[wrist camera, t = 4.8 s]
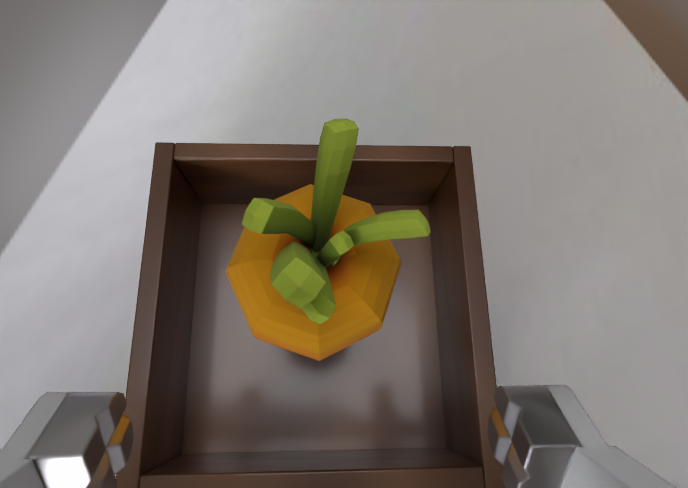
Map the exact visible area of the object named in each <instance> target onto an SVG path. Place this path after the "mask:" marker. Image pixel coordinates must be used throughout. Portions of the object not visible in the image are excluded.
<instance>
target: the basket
mask: <svg viewBox="0 0 688 488" xmlns="http://www.w3.org/2000/svg"><path fill="white" fill-rule="evenodd" d="M318 149H319V145H291V144H212V143H176V144H174V143H156V144H155V153H154V161H153V170H152V178H151V187H150V195H149V204H148V212H147V221H146V229H145V237H144V246H143V254H142V263H141V271H140V280H139V288H138V297H137V305H136V314H135V322H134V331H133V339H132V348H131V356H130V365H129V373H128V381H127V390H126V398H125V400H126V403H127V406H126V408H125V410H124V414H125V415H126V416H127V417H128V418H130V419H131V421H132V425H133V437H134V439H133V444H132V449H131V454H130V456H129V459H128V461H127V464H126V466H125V467H124V468H122V469H121V470H120V471H119V472H118V473H117V475H116V483H117V488H506V487H505V485H504V482H503V479H502V477H501V475H502V471H503V468H504V465H502V464H501V463H500V462H499V461H498V460H497V459H495V458H494V456H493V453H492V450H491V448H490V444H489V439H488V427H487V424H488V419H489V414H490V413H491V412H492V411H493V410H494V409H495V408H496V404H495V402H494V400H493V398H494V394H495V391H496V389H497V388H496V378H495V369H494V360H493V350H492V341H491V332H490V323H489V313H488V304H487V295H486V285H485V276H484V267H483V258H482V248H481V239H480V230H479V221H478V211H477V202H476V193H475V183H474V174H473V165H472V156H471V147H470V146H453V148H452V147H449V146H370V145H356V148H355V152H354V156H353V160H352V164H351V168H350V171H349V174H348V178H347V181H346V184H345V188H344V191H343V194H342V195H345V196H348V197H351V198H354V199H357V200H360V201H363V202H366V203H369V204H370V205H371V206H372V208H373V210H374V212H375V214H376V215H377V214H380V213H384V212H391V211H399V210H419V211H420V212H421V213H422V214H423V215H424V216H425V217H426V219H427V221H428V224H429V226H430V230H431V232H430V234H429V235H428V236H425V237H416V238H404V239H390V241H391V243H392V245H393V247H394V248H395V250H396V252H397V254H398V256H399V258H400V260H401V262H402V263H401V266H400V270H399V273H398V276H397V279H396V283H395V286H394V289H393V293H392V296H391V299H390V302H389V306H388V309H387V312H386V315H385V319H384V322H383V325H382V328H381V329H380V330H378V331H377V332H375V333H374V334H372V335H370V336H368V337H366V338H364V339H362V340H360V341H358V342H356V343H354V344H352V345H350V346H348V347H346V348H344V349H342V350H340V351H338V352H336V353H334V354H332V355H330V356H329V357H327V358H325V359H323V360H321V361H318V360H315V359H312V358H309V357H306V356H303V355H300V354H297V353H295V352H292V351H289V350H286V349H283V348H280V347H277V346H274V345H272V344H269V343H266V342H263V341H261V340H259V339H257V338H255V337H253V334H252V332H251V330H250V327H249V325H248V323H247V321H246V318H245V316H244V314H243V311H242V309H241V307H240V305H239V302H238V300H237V298H236V295H235V293H234V291H233V289H232V286H231V284H230V282H229V279H228V277H227V275H226V269H227V267H228V264H229V262H230V260H231V257H232V255H233V253H234V250H235V248H236V246H237V243H238V241H239V239H240V236H241V234H242V232H243V229H244V227H245V226H243V225H242V221H243V218H244V214H245V210H246V209H247V207H248V206H249V204H250V203H251V201H252V200H253V198H265V199H271V200H275V199H277V198H279V197H282V196H284V195H286V194H288V193H291V192H293V191H295V190H298V189H300V188H302V187H305V186H307V185H309V184H312V185H314V182H315V172H316V163H317V155H318Z"/></svg>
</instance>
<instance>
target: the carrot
mask: <svg viewBox="0 0 688 488" xmlns="http://www.w3.org/2000/svg"><path fill="white" fill-rule="evenodd" d="M358 129H359V128H358V127H357V125H356V124H355V122H353V121H351V120H349V119H334V120H332V121H329V122H326V123H324V127H323V130H322V134H321V137H320V143H319V149H318V155H317V163H316V172H315V182H314V185H312V184H309V185H307V186H305V187H302V188H300V189H298V190H295V191H293V192H291V193H288V194H286V195H284V196H282V197H279V198H277V199H275V200H271V199H265V198H253V200H252V201H251V203H250V204H249V206H248V207H247V209H246V210H245V214H244V218H243V221H242V225H243V226H245V227H244V229H243V232H242V234H241V236H240V239H239V241H238V243H237V246H236V248H235V250H234V253H233V255H232V257H231V260H230V262H229V264H228V267H227V269H226V275H227V277H228V279H229V282H230V284H231V286H232V289H233V291H234V293H235V295H236V298H237V300H238V302H239V305H240V307H241V309H242V311H243V314H244V316H245V318H246V321H247V323H248V325H249V327H250V330H251V332H252V334H253V337H255V338H257V339H259V340H261V341H263V342H266V343H269V344H272V345H274V346H277V347H280V348H283V349H286V350H289V351H292V352H295V353H297V354H300V355H303V356H306V357H309V358H312V359H315V360H318V361H321V360H323V359H325V358H327V357H329V356H330V355H332V354H334V353H336V352H338V351H340V350H342V349H344V348H346V347H348V346H350V345H352V344H354V343H356V342H358V341H360V340H362V339H364V338H366V337H368V336H370V335H372V334H374V333H375V332H377V331H378V330H380V329H381V328H382V325H383V322H384V319H385V315H386V312H387V309H388V306H389V302H390V299H391V296H392V293H393V289H394V286H395V283H396V279H397V276H398V273H399V270H400V266H401V263H402V262H401V260H400V258H399V256H398V254H397V252H396V250H395V248H394V247H393V245H392V243H391V241H390V239H404V238H416V237H425V236H428V235H429V234H430V232H431V230H430V226H429V224H428V221H427V219H426V217H425V216H424V215H423V214H422V213H421V212H420V211H419V210H399V211H391V212H384V213H380V214H377V215H376V214H375V212H374V210H373V208H372V206H371V205H370V204H369V203H366V202H363V201H360V200H357V199H354V198H351V197H348V196H345V195H342V194H343V191H344V188H345V184H346V181H347V178H348V174H349V171H350V168H351V164H352V160H353V156H354V152H355V148H356V143H357V136H358Z"/></svg>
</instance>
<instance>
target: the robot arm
mask: <svg viewBox="0 0 688 488" xmlns="http://www.w3.org/2000/svg"><path fill="white" fill-rule="evenodd" d="M493 400H494V402H495V404H496V408H495V409H494V410H493V411H492V412H491V413H490V414H489V419H488V424H487V427H488V439H489V444H490V448H491V450H492V453H493V456H494V458H495V459H497V460H498V461H499V462H500V463H501V464H502V465H504V468H503V471H502V475H501V477H502V479H503V482H504V485H505V487H506V488H676V487H674V486H673V485H671V484H670V483H669V482H667V481H666V480H664V479H663V478H661V477H660V476H658V475H657V474H655V473H654V472H652V471H651V470H649V469H648V468H647V467H645V466H644V465H642V464H641V463H639V462H638V461H636V460H635V459H633V458H632V457H630V456H629V455H628V454H626V453H625V452H623V451H622V450H620V449H619V448H617V447H616V446H608V445H607V443H606V442H605V440H604V438H603V437H602V435H601V434H600V432H599V431H598V429H597V428H596V426H595V425H594V423H593V422H592V420H591V419H590V417H589V416H588V414H587V413H586V411H585V410H584V408H583V407H582V405H581V404H580V402H579V400H578V399H577V397H576V396H575V394H574V393H573V391H572V390H571V388H569V387H568V386H567V385H543V386H541V385H533V386H499V387H498V388H497V389H496V391H495V394H494V398H493ZM126 406H127V403H126V400H125V397H124V394H123V393H119V392H47V393H45V394H44V395H42V396H41V397H40V398H39V399H38V400H37V401H36V403H35V404H34V406H33V407H32V408H31V410H30V411H29V413H28V414H27V415H26V417H25V418H24V420H23V421H22V422H21V424H20V425H19V427H18V428H17V429H16V431H15V432H14V434H13V435H12V436H11V438H10V439H9V441H8V442H7V443H6V445H5V446H4V448H3V449H2V450H1V452H0V488H117V483H116V479H115V476H114V475H115V474H117V473H118V472H119V471H120V470H121V469H122V468H124V467H125V466H126V464H127V461H128V459H129V456H130V454H131V449H132V444H133V439H134V437H133V425H132V421H131V419H130V418H128V417H127V416H126V415H125V414H123V412H124V410H125V408H126Z"/></svg>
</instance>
